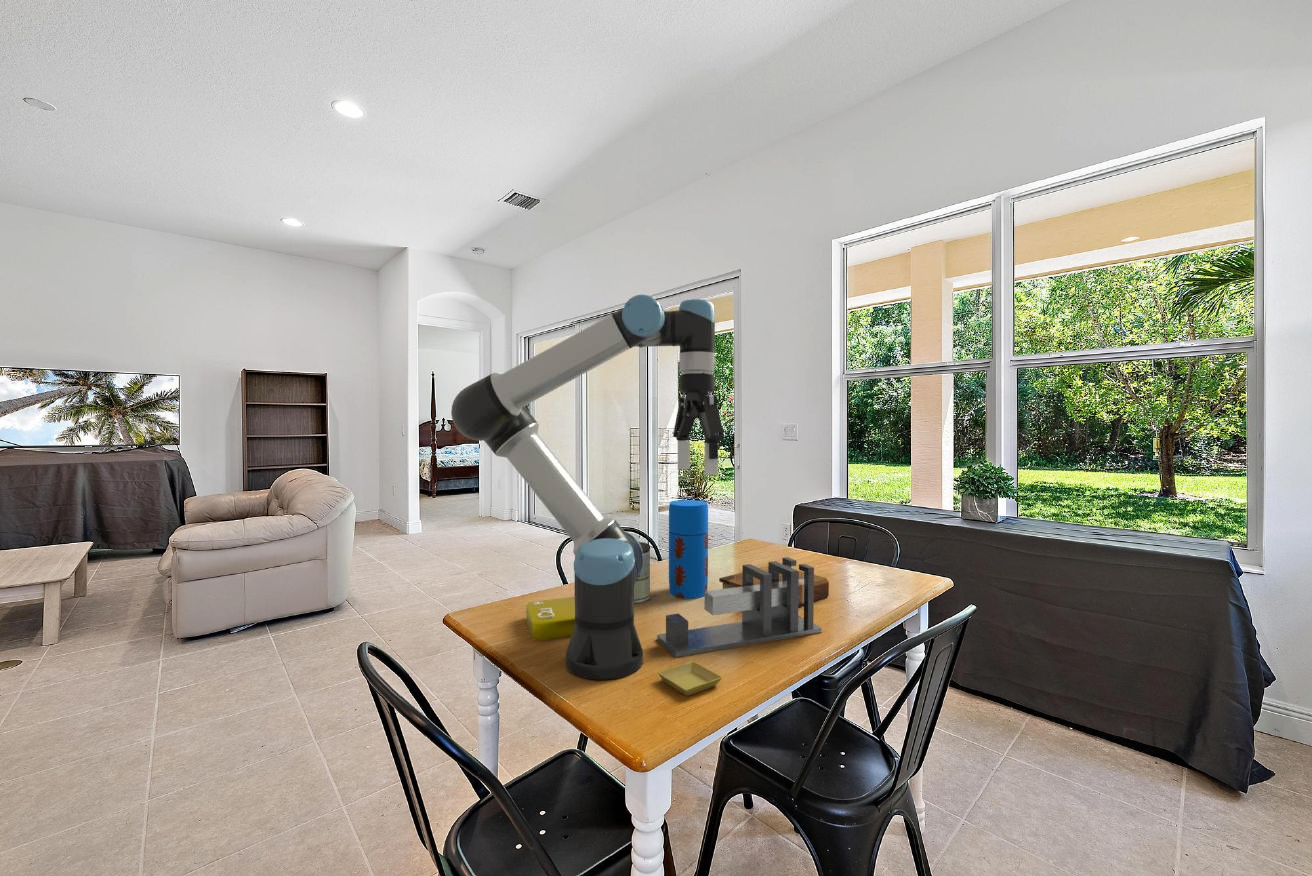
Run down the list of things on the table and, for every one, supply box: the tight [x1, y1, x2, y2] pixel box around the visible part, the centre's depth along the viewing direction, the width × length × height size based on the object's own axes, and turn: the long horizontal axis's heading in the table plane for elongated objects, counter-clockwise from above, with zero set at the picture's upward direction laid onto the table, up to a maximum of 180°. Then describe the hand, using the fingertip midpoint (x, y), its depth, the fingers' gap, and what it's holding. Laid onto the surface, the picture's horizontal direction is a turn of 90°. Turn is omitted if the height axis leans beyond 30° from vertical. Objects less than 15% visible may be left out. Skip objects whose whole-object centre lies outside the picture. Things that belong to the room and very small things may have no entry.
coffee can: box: [634, 541, 651, 604], centre depth 149 cm, size 10×10×14 cm
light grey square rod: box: [703, 579, 804, 616], centre depth 125 cm, size 26×4×4 cm, turn 112°
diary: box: [718, 565, 830, 608], centre depth 150 cm, size 23×19×6 cm
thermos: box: [668, 499, 709, 600], centre depth 153 cm, size 11×11×25 cm
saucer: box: [657, 661, 723, 697], centre depth 101 cm, size 9×9×2 cm
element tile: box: [525, 596, 575, 641], centre depth 130 cm, size 15×15×5 cm
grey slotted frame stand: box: [656, 556, 823, 658], centre depth 123 cm, size 36×10×15 cm, turn 112°
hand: (696, 472), depth 120 cm, fingers open, 13 cm apart
